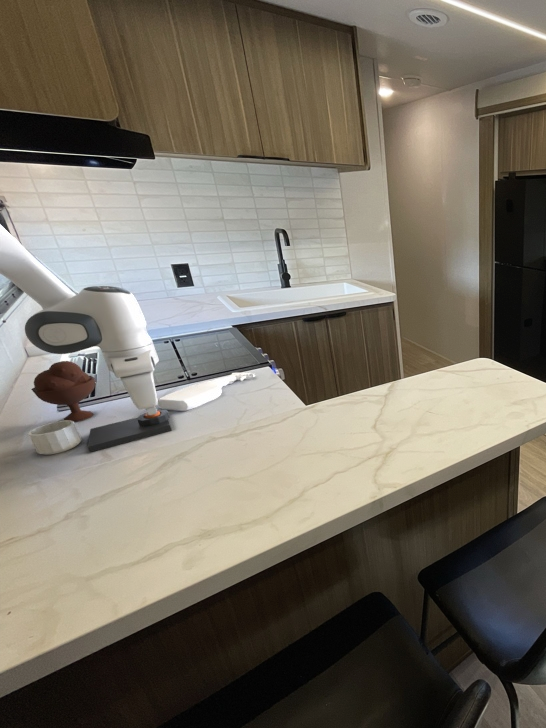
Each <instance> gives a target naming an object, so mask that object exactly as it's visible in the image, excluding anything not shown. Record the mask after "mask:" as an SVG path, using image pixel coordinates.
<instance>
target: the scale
mask: <svg viewBox="0 0 546 728" xmlns="http://www.w3.org/2000/svg"><path fill="white" fill-rule="evenodd" d="M157 411H160V415H158V416H156V417H152V418H145V414H146V413H147V412H145V413H142V414H140V415H139V416H137V417H133V418H129V419H125V420H120V421H117V422H112V423H108V424H105V425H101V426H97V427H92V428H90V430H89V435H88V436H89V437H88V438H89V439H88V445H87V448H88V450H89V452H90V453H93V452H97V451H100V450H104V449H108V448H111V447H115V446H119V445H122V444H126V443H130V442H134V441H137V440H140V439H145V438H148V437H152V436H157V435H159V434H163V433H166V432H167V433H168V432H170V431H172V426H171V423H170V419H171V417H170V414H169V410H165V409H157Z"/></svg>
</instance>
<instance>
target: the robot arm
mask: <svg viewBox="0 0 546 728" xmlns="http://www.w3.org/2000/svg"><path fill="white" fill-rule="evenodd" d="M0 275H2V276H3V277H5V278H6V279H8V280H9V281H10V282H11V283H12V284H14V285H15V286H16V287H17V288H18V289H20V290H21V291H22V292H24V294H26V295H27V296H28V297H30V298H31V299H32V300H33V301H35V302H36V303H37V304H38V305H39V306H40V307H41V308H42V310H39V311H37V312H36V313H34V314H33V315H31V316H30V317H29V318H28V319H27V320H26V323H25V324H24V333H25V336H26V338H27V339H28V341H29V342H30V343H31V344H32V345H33V346H35V347H36V348H37V349H39V350H41V351H43V352H46V353H49V354H53V355H68V354H73V353H77V352H80V351H84V350H87V349H90V348H93V347H97V348H99V349H100V351H101V353H102V356H103V359H104V361H105V363H106V367H107V369H108V371H110V372H111V373H113V374H114V376H115V377H116V378H117V379H119V378H120V381H121V382H122V384H123V386H124V388H125V390H126V392H127V394H128V396H129V398H130V400H131V401H132V403H133V405H134V406H135V407H136V408H137V409H138V410H143V409H145V411H146V412H145V413H147V414H148V415H154V414H157V410H158V409H157V406H158V400H159V398H158V394H157V389H156V384H155V380H154V379H155V378H154V371H156V370H155V369H156V365H157V364H158V363H159V362H160V359H159V356H158V353H157V350H156V347H155V344H154V341H153V339H152V338H151V336H150V335H149V333H148V330H147V321H146V319H145V316H144V314H143V311H142V309H141V306H140V305H139V303H138V300H137V299H136V297H135V296H134V294H133V293H132V292H131V291H129V290H128V289H126V288H122V287H118V286H110V285H98V286H97V285H94V286H87V287H84V288H82V289H81V290H80V291H79V292H77V291H76V290H74V289H73V288H72V287H71V286H69V285H68V284H67V283H66V282H65V281H63V280H62V279H61V278H60V277H59V276H58V275H57V274H56V273H54V272H53V271H52V270H51V269H50V268H49V267H48V266H47V265H46V264H44V263H43V262H42V261H41V260H40V259H39V258H38V257H36V256H35V255H34V254H33V253H32V252H31V251H29V250H28V249H27V248H26V247H24V246H23V244H21V242H19V241H18V240H17V239H16V237H14V236H13V235H12V234H11V233H10V232H9V231H8V230H7V229H6V228H5V227H4V226H3V225H2V224H1V223H0Z"/></svg>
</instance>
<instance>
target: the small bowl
mask: <svg viewBox="0 0 546 728" xmlns="http://www.w3.org/2000/svg"><path fill="white" fill-rule="evenodd" d="M27 435H28V438H29V439H30V441H31V443H32V446H33V447H34V450H35V452H36V453H37V454H39V455H44V456H45V455H46V456H49V455H56V454H60V453H63V452H67V451H69V450H71V449H74V448H76V447H77V446H78V445H79V444H80V443H81V442H82V437H81V435H80V432H79V429H78V428H77V426H76V422H74V421H71V420H64V419H63V420H58V421H53V422H48V423H45V424H42V425H39V426H37V427H34V428H32V429H31V430H30V431H28V433H27Z"/></svg>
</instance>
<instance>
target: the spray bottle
mask: <svg viewBox="0 0 546 728" xmlns="http://www.w3.org/2000/svg"><path fill="white" fill-rule="evenodd" d="M254 377H256V373H253V372H232V373H231V374H229V375H227V376H223V377H219V378H216V379H212V380H207V381H200V382H198V383H194V384H191V385H188V386H186V387H183V388H180V389H178V390H175V391H173V392H171V393H168V394H166V395H163V396H162V397H160V398H158V404H157V406H158V408H160V410H167V411H178V412H187V411H190V410H193V409H196V408H198V407H200V406H203V405H204V404H207V403H209V402H211V401H213V400H216V399H217V398H219V397H220V396H221V395H222V392H223V390H222V388H224V387H226V386H228V385H232V384H234V382H236V381H240V382H242V381H244V379H249V378H254Z"/></svg>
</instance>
